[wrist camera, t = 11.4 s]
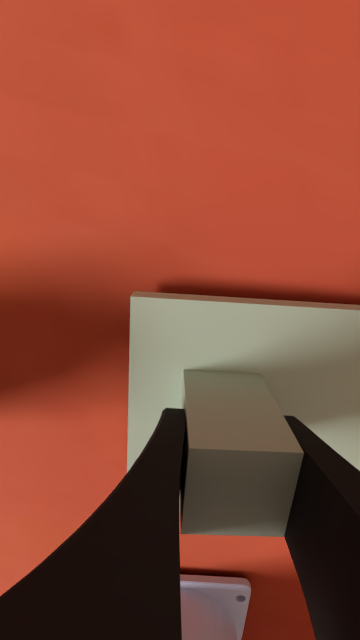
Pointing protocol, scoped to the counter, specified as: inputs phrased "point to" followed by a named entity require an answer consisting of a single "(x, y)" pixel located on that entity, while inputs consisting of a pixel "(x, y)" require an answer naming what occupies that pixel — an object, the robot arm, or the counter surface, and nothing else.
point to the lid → (243, 398)
